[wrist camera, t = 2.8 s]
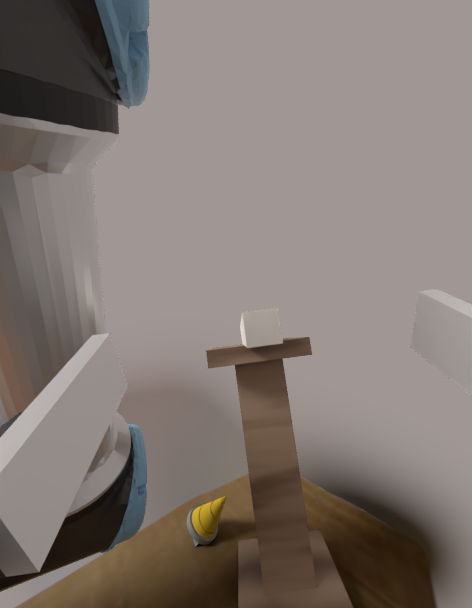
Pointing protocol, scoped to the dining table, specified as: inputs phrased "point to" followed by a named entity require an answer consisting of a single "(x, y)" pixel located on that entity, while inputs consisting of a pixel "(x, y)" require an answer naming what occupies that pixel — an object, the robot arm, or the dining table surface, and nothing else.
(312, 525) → the dining table surface
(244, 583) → the pedestal
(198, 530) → the drill bit
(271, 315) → the bar
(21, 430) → the robot arm
